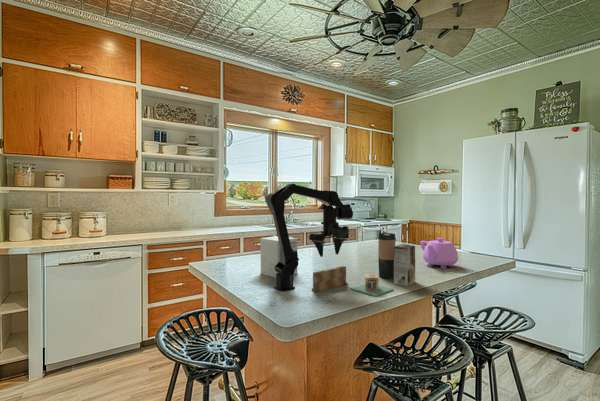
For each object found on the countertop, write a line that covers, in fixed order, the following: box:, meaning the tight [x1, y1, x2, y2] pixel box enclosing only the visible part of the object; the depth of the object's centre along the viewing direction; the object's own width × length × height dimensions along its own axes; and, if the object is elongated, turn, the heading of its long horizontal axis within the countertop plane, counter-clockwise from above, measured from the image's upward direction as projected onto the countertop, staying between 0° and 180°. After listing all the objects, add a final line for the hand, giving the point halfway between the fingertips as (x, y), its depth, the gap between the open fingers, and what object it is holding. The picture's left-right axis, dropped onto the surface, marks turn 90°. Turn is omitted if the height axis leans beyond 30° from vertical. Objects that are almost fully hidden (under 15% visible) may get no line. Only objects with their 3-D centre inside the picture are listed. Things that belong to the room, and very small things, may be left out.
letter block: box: [364, 273, 380, 291], centre depth 127 cm, size 5×5×5 cm
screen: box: [311, 265, 349, 293], centre depth 131 cm, size 18×4×8 cm, turn 131°
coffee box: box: [393, 243, 416, 287], centre depth 137 cm, size 9×6×16 cm
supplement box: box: [259, 235, 298, 279], centre depth 154 cm, size 13×13×18 cm
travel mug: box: [377, 232, 396, 280], centre depth 148 cm, size 8×8×20 cm
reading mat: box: [350, 283, 394, 298], centre depth 127 cm, size 12×12×1 cm
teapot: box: [419, 237, 459, 270], centre depth 170 cm, size 20×20×15 cm
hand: (329, 255), depth 138 cm, fingers open, 9 cm apart
